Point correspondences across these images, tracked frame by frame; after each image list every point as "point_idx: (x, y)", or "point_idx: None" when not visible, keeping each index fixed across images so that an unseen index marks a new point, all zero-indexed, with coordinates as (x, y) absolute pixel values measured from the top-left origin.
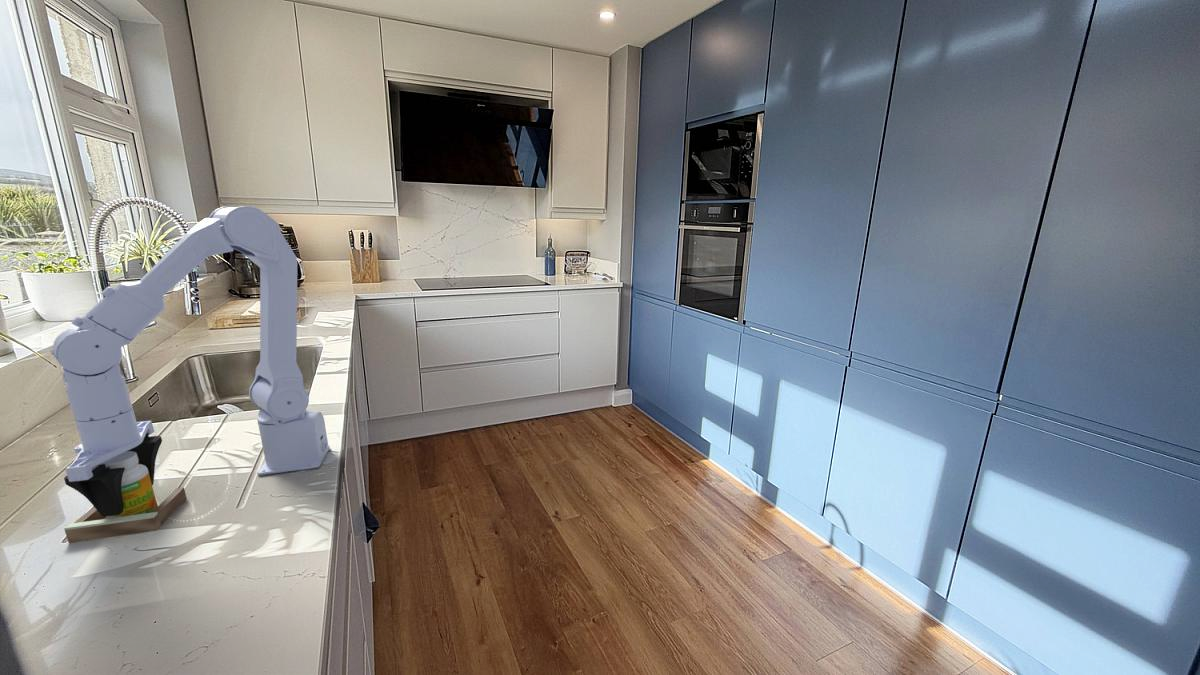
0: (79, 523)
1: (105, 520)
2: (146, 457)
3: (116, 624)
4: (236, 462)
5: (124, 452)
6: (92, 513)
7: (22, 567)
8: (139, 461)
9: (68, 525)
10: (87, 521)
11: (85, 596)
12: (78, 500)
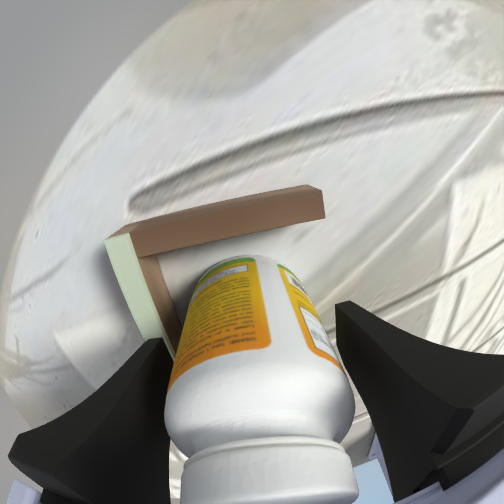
0: (129, 270)
1: (154, 333)
2: (382, 441)
3: (44, 418)
4: (458, 338)
5: (345, 501)
6: (201, 243)
7: (47, 203)
8: (382, 412)
9: (116, 241)
10: (143, 284)
11: (44, 376)
12: (366, 47)
